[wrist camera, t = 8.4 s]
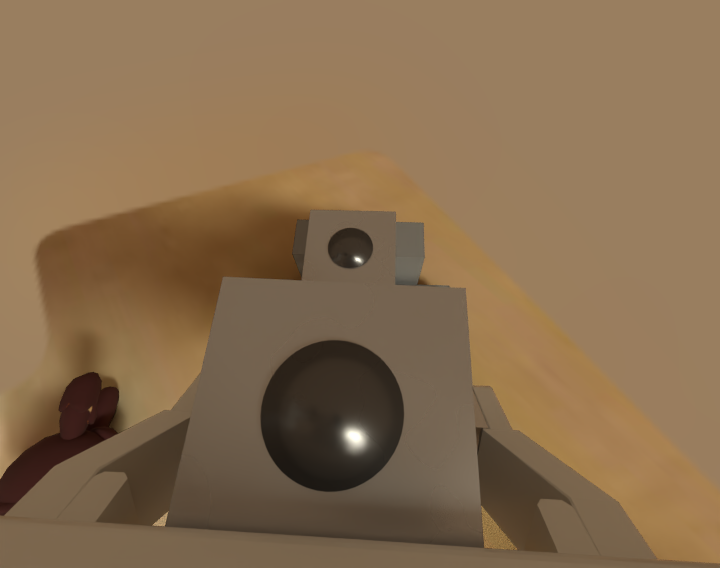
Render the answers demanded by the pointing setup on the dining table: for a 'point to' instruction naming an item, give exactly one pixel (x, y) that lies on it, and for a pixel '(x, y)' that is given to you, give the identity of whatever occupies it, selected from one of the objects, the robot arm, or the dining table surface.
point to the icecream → (63, 437)
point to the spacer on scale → (350, 247)
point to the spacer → (334, 415)
